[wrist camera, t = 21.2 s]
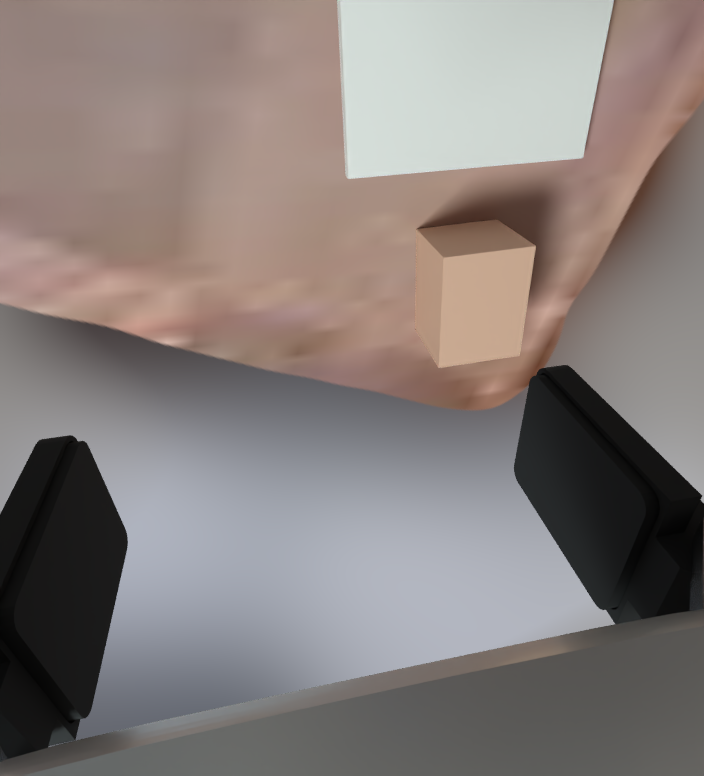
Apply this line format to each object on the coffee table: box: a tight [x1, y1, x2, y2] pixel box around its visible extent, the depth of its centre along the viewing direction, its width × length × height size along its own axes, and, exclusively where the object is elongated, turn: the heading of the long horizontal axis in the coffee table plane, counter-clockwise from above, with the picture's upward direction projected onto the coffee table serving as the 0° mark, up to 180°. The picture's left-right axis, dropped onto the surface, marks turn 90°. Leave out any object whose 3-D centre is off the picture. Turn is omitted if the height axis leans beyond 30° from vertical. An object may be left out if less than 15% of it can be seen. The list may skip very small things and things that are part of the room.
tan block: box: [415, 219, 536, 368], centre depth 36 cm, size 8×6×6 cm
